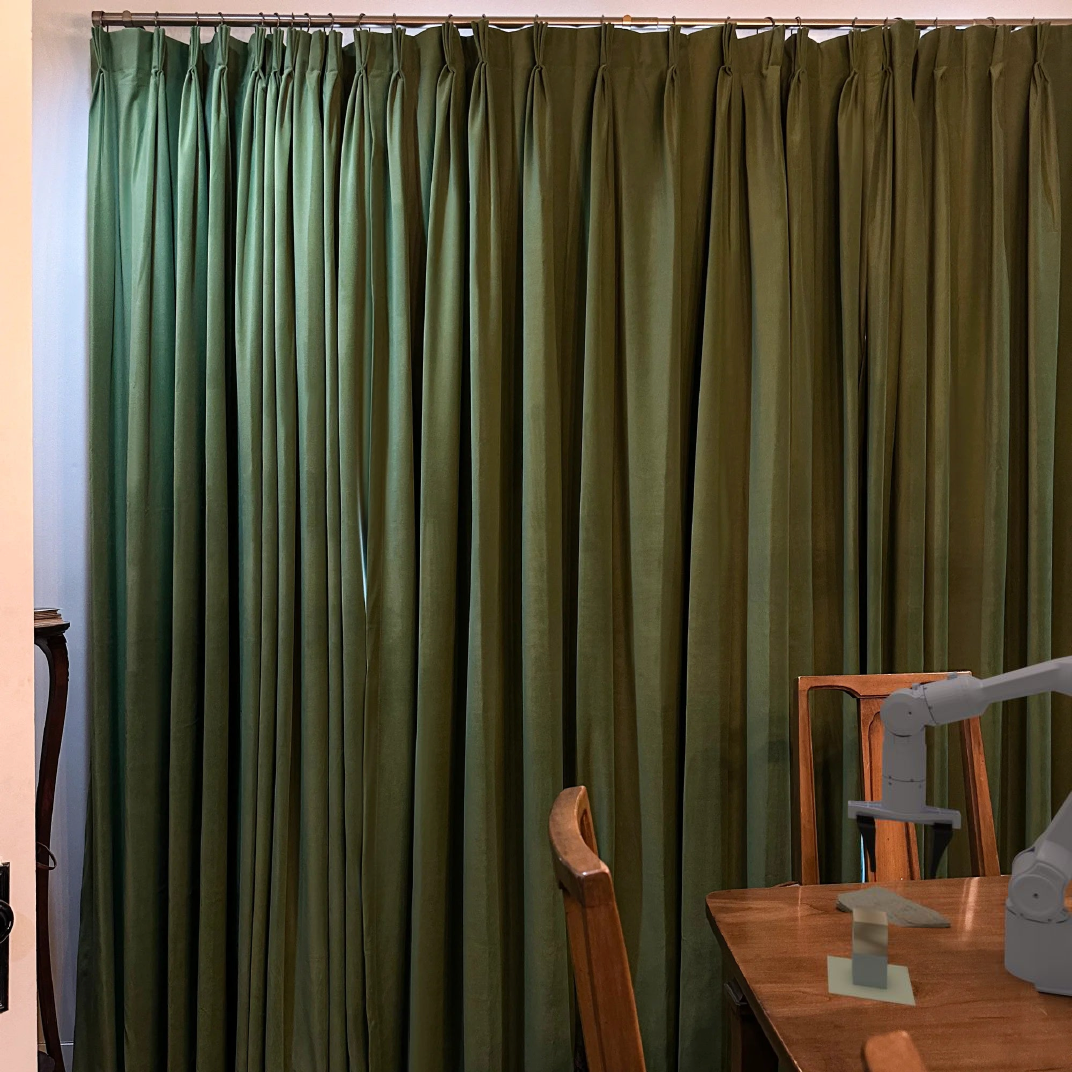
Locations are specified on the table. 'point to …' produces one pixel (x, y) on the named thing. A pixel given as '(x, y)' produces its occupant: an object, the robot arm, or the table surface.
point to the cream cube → (870, 932)
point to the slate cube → (869, 970)
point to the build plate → (843, 985)
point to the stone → (891, 908)
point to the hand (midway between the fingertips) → (902, 873)
